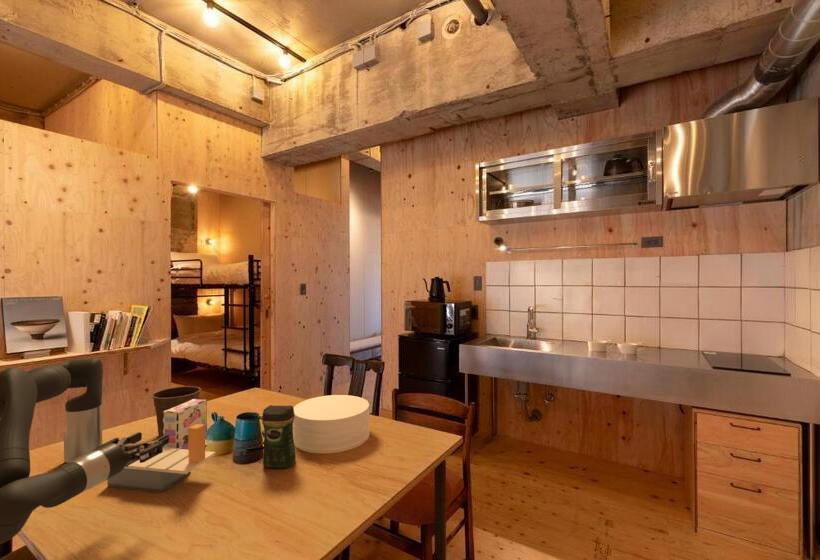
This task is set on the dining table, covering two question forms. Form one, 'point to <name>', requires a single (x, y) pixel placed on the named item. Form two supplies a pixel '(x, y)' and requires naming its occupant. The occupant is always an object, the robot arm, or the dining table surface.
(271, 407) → the coffee jar
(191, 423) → the candy box
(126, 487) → the tub
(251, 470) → the dining table surface
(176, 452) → the lid
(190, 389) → the plant pot
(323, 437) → the plate stack
